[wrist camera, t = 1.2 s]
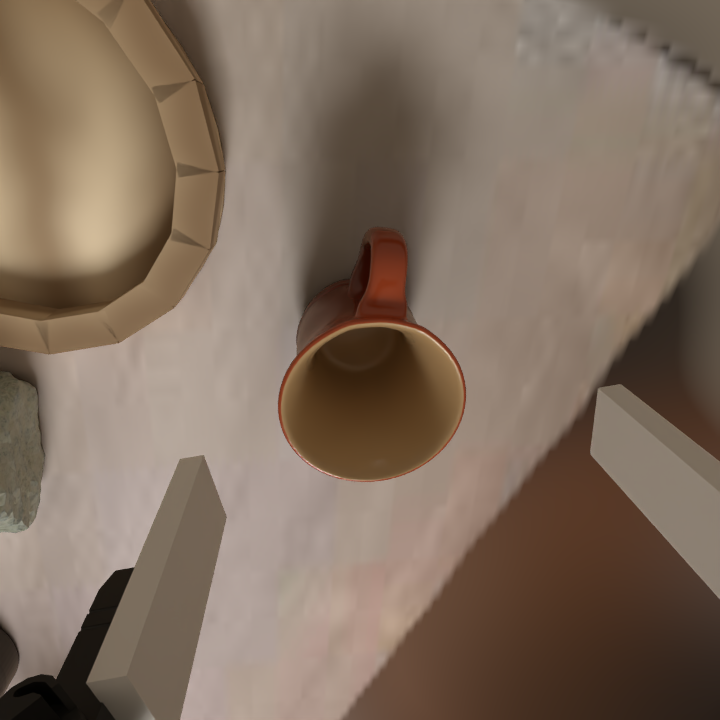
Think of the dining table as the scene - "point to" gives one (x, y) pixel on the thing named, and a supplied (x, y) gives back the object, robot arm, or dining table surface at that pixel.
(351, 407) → the mug
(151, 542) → the robot arm
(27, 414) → the decorative stone
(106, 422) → the dining table surface
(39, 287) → the round tray
